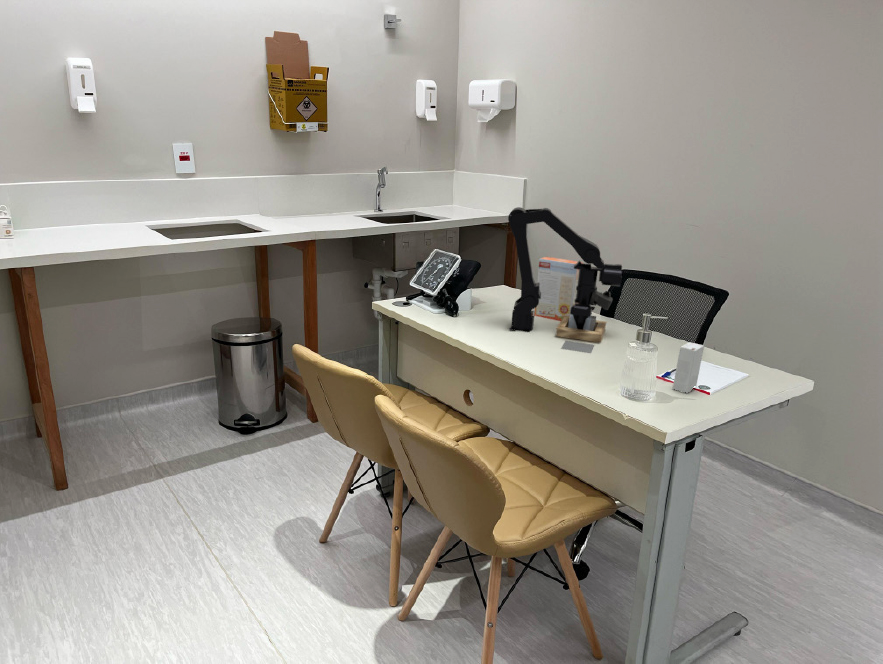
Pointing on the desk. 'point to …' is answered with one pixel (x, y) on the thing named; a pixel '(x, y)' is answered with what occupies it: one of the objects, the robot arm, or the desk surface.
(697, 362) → the skincare box
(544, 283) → the cracker box
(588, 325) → the box
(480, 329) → the desk surface
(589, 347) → the rubber mat
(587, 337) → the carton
